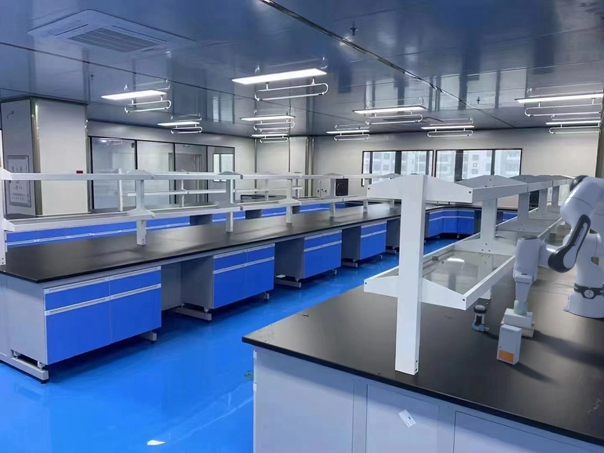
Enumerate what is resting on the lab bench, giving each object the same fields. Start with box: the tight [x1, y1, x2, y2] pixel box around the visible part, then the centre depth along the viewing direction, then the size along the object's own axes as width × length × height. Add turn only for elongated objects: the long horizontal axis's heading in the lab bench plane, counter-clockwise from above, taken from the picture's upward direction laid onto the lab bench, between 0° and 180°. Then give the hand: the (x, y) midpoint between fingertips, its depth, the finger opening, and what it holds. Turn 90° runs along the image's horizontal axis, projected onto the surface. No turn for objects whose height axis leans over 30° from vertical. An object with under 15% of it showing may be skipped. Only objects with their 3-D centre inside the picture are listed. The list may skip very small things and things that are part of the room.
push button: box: [471, 304, 490, 332], centre depth 184 cm, size 7×5×10 cm
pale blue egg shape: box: [513, 299, 529, 315], centre depth 185 cm, size 5×5×5 cm
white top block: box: [503, 307, 534, 328], centre depth 185 cm, size 10×10×4 cm
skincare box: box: [496, 324, 522, 366], centre depth 153 cm, size 6×4×12 cm
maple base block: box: [499, 316, 536, 338], centre depth 186 cm, size 12×12×4 cm
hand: (521, 306), depth 185 cm, fingers open, 8 cm apart
